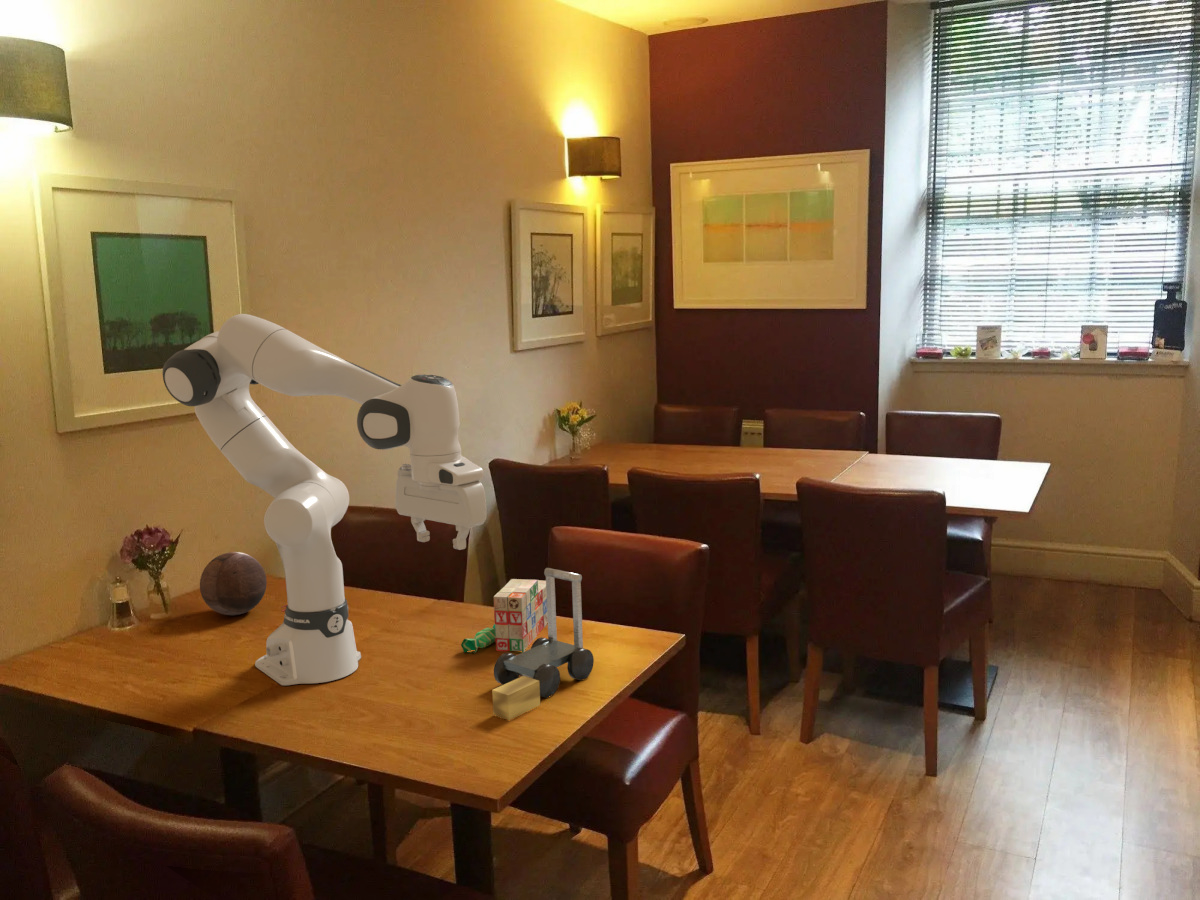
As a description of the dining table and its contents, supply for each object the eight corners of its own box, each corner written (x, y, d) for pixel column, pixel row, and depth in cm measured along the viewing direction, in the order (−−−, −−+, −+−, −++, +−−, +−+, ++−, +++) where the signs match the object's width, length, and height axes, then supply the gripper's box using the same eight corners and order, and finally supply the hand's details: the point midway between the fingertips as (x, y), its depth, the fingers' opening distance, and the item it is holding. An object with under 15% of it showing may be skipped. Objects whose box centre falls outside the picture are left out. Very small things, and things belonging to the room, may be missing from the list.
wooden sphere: (281, 605, 247) (275, 545, 244) (246, 625, 232) (240, 563, 230) (226, 602, 250) (221, 544, 248) (189, 622, 236) (183, 560, 233)
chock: (493, 716, 180) (492, 689, 179) (524, 701, 186) (523, 675, 185) (509, 722, 178) (508, 695, 177) (540, 706, 184) (539, 680, 183)
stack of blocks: (526, 618, 232) (523, 566, 230) (552, 619, 231) (550, 567, 228) (495, 651, 212) (492, 595, 209) (524, 653, 210) (521, 596, 208)
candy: (492, 630, 222) (499, 617, 220) (503, 640, 221) (510, 627, 219) (458, 648, 212) (466, 635, 210) (469, 659, 211) (477, 645, 209)
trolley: (550, 661, 204) (546, 564, 201) (594, 674, 197) (590, 573, 194) (494, 687, 192) (489, 584, 189) (539, 702, 185) (534, 595, 182)
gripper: (384, 465, 179) (389, 540, 181) (463, 476, 166) (467, 557, 169) (411, 459, 184) (416, 533, 186) (490, 470, 171) (494, 549, 174)
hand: (441, 544), depth 177 cm, fingers open, 8 cm apart
